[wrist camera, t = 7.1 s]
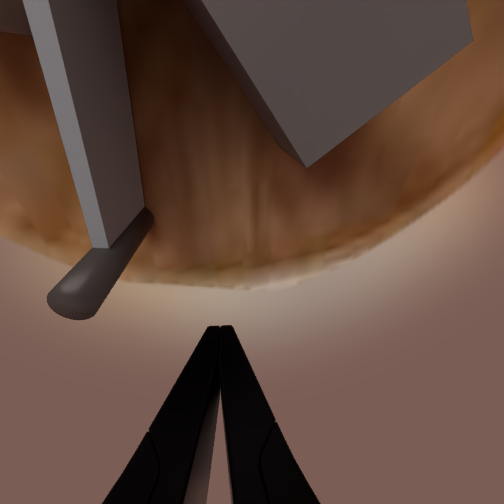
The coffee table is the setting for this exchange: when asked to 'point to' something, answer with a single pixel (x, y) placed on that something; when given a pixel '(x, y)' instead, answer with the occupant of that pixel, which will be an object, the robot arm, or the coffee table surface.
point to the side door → (92, 141)
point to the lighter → (14, 17)
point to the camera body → (329, 59)
